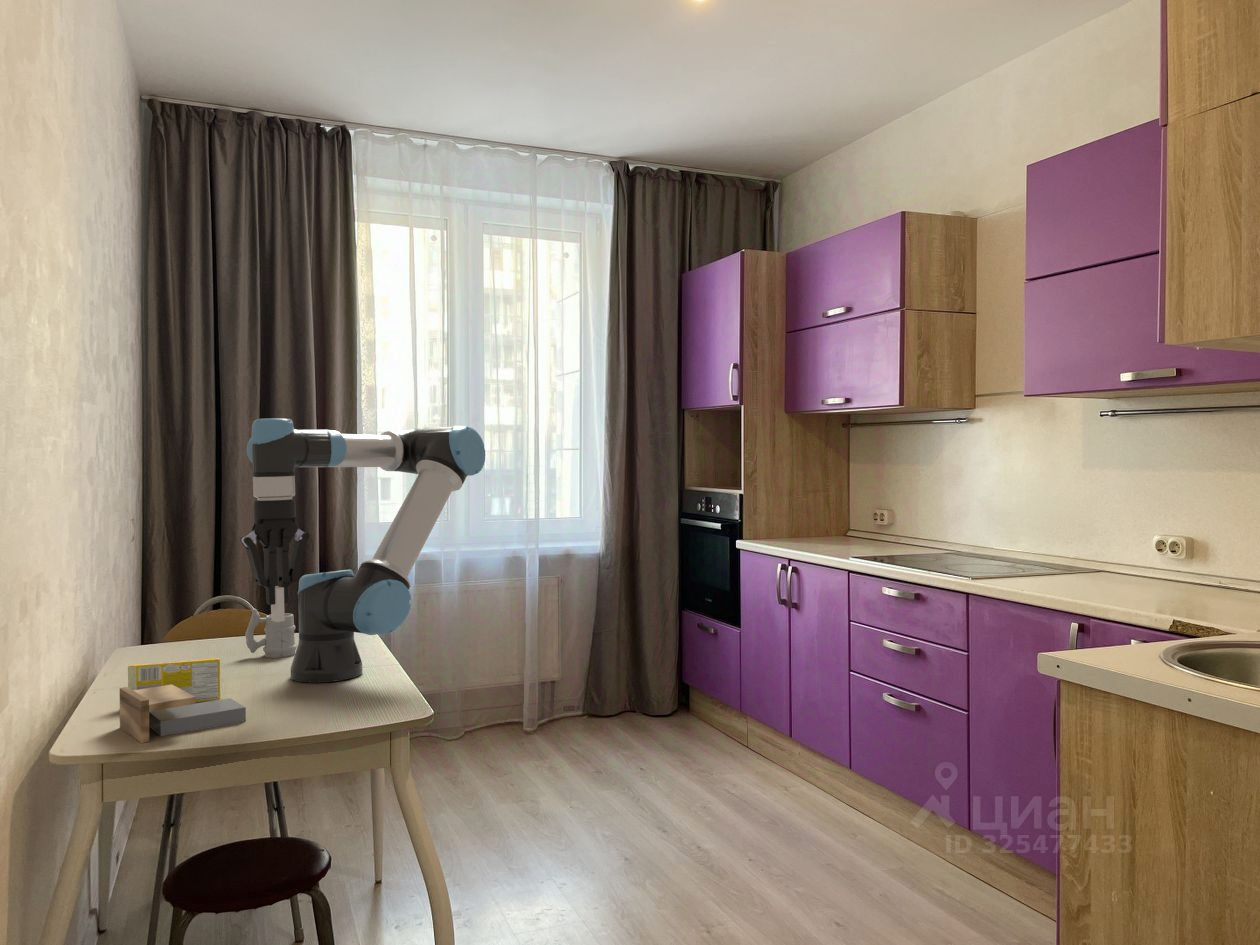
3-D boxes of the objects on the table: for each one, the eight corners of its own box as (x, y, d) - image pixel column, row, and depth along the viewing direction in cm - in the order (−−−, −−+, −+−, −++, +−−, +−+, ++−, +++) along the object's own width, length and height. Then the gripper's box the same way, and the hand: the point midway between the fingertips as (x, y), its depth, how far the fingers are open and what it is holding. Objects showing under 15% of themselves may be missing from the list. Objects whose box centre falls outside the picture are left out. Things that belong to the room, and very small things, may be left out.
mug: (299, 655, 223) (298, 607, 223) (247, 661, 217) (247, 611, 217) (293, 650, 229) (293, 603, 229) (243, 655, 223) (243, 607, 223)
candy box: (220, 698, 181) (220, 657, 181) (220, 701, 179) (219, 659, 179) (129, 706, 175) (129, 663, 175) (127, 709, 173) (127, 666, 173)
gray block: (230, 713, 170) (230, 698, 170) (245, 723, 164) (245, 707, 164) (148, 727, 161) (148, 710, 161) (160, 738, 155) (160, 721, 155)
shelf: (172, 718, 166) (171, 680, 166) (195, 732, 156) (195, 692, 156) (119, 727, 160) (119, 688, 160) (141, 743, 151) (141, 701, 151)
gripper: (299, 496, 181) (302, 613, 182) (232, 500, 172) (236, 623, 173) (315, 497, 176) (319, 618, 176) (247, 500, 167) (251, 628, 167)
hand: (278, 620), depth 174 cm, fingers closed
